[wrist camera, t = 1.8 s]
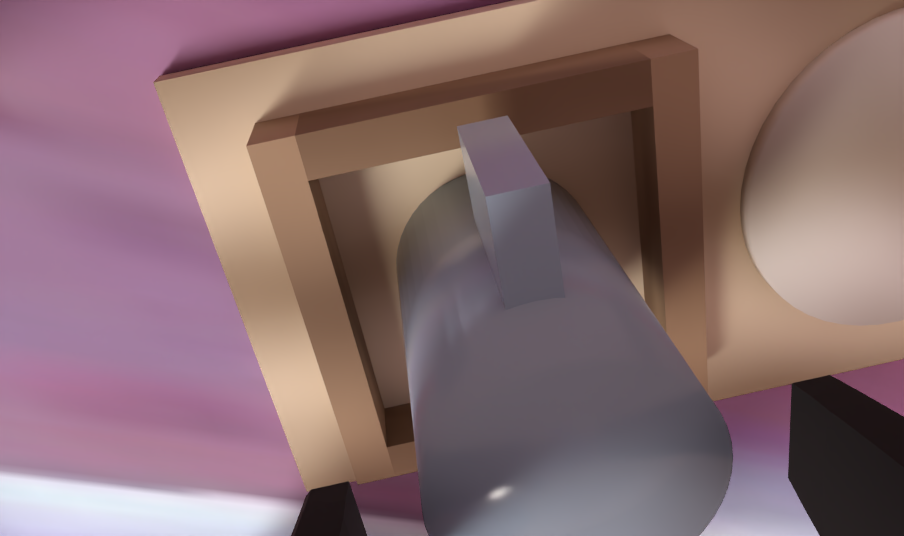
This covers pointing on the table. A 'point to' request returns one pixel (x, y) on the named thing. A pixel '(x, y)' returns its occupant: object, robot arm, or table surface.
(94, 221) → the table surface
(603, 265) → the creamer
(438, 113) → the jug board
